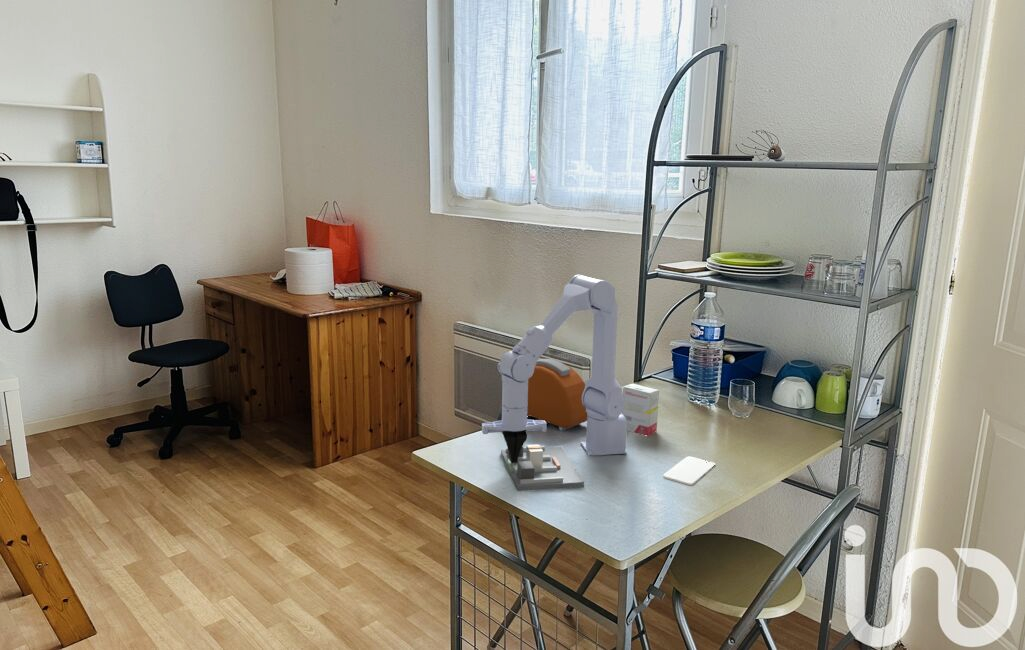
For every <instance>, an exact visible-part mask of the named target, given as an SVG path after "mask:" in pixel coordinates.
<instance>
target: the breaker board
mask: <svg viewBox="0 0 1025 650" xmlns="http://www.w3.org/2000/svg"><path fill="white" fill-rule="evenodd" d="M540 446H541V447H542V450H543V466H542V467H533V465H532V463H531V461H526V447H527V446H524V445H523V446H522V448H521V450H520V453H519V456H518V461H517V463H511V461H510V457H509V451H508V447H505V449H501V450H500V455H501V458H502V460H503V463H504V465H505V468H506V470H507V471H508V474H509V476H510V480H511V481H512V483H513V485H514V488H515V490H516V492H528V491H540V490H556V489H557V490H559V489H572V488H573V489H574V488H584V486H585V481H584V479H583V478H582V476H581V475H580V473H579V471H577V468H576V467H575V466H574V464H573V462H572V461H571V460H570V458H569V456H568V455H567V453H566V452H565V450H564V448H563V447H562V446H554V447H553V446H549V447H545V445H540Z"/></svg>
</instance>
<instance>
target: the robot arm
mask: <svg viewBox="0 0 1025 650" xmlns="http://www.w3.org/2000/svg"><path fill="white" fill-rule="evenodd" d="M615 296H616V287H614V285H612V284H611V283H610V282H609V281H607V280H604V279H597V278H594V277H593V278H592V277H590V276H589V277H588V276H585V275H583V274H576V275H574V276H572V278H570V280H569V281H568V283H567V284H566V285H564V287H563V293H562V295H561V296H560V297H559V299H558V300H557V302H556V304H555V305H554V306H553V308H552V309H551V310H550V311H549V313H548V315H546V317H545V318H544V319H543V321H542V323H541V324H540V325H533V326H531V328H527V330H526V331H525V335H524V336H523V337H522V338H521V340H519V342H518V343H517V344H516V345H514V347H513V348H512V350H510V351H506V352H505V353H504V354H502V355H501V357H500V359H499V363H497V365H496V366H497V370H498V372H499V373H500V375H501V381H502V383H501V385H502V391H501V393H502V394H501V395H502V396H501V398H502V399H501V420H495V421H489V422H482V423H481V432H482V434H483V435H488V434H490V433H491V434H492V433H493V434H494V433H501V434H502V436H503V438H504V442H505V443H506V446H507V447H506V448H508V451H509V457H510V461H511V463H517V461H518V456H519V453H520V450H521V448H522V446H523V447H524V444H525V442H526V441H527V439H528V433H527V432H531V431H532V432H534V431H535V432H536V431H541V432H547V427H548V426H547V424H548V422H546V421H545V420H540V419H528V415H527V405H528V379H529V378H530V377H531V376H532V375H533V373H534V368H535V365H536V364H537V363H536V362H537V360H539V359H541V357H542V355H544V353H545V352H546V350H547V349H548V348H549V347H550V346H552V344H553V335H554V334H555V332H556V331H557V330H559V329H560V327H562V325H564V323H565V322H566V321H567V320H569V318H570V317H571V316H572V315H574V313H575V312H579V311H590V312H591V313H592V314H593V331H592V332H593V333H592V334H593V335H592V336H593V337H592V357H591V358H592V359H591V361H592V362H591V376H590V377H589V378H587V380H585V381H584V383H585V389H584V391H583V394H582V404H583V405H584V406H585V407H586V412H587V421H586V437H585V438H586V439H585V441H584V440H583V441H581V442H580V445H582V447H583V449H584V451H585V452H586V453H587V454H588V455H589V456H607V455H621V454H622V455H625V454H627V450H626V448H627V447H626V446H627V434H628V433H627V432H628V431H627V424H626V419H625V417H624V415H623V414H622V411H623V409H624V399H623V396H622V395H623V387H622V386H621V385H620V383H619V382H618V380H617V379H616V377H615V375H616V355H617V354H616V352H617V330H618V312H619V311H618V302H617V301H616V297H615Z"/></svg>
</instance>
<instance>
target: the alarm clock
mask: <svg viewBox="0 0 1025 650" xmlns="http://www.w3.org/2000/svg"><path fill="white" fill-rule="evenodd" d="M536 363H537V364H536V365H535V368H534V373H533V375H532V376H531V377H530V378H529V379H528V405H527V416H529V417H532V418H535V419H536V420H545V422H546V423H550V424H552V425H554V426H557V427H558V430H559V431H565V430H568V429H570V428H573V427H576V426H579V425H580V424H583V423H587V412H586V407H585V406H584V405H583V404H582V394H583V391H584V389H585V381H584V380H583V378H582V377H581V376H580V375H579V374H578V372H576V370H575V369H573V368H572V367H570V366H569V365H567V364H565V363H563V362H561V361H559V360H556V359H552V358H539V359H538V360H537V362H536Z"/></svg>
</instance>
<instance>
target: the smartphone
mask: <svg viewBox="0 0 1025 650" xmlns="http://www.w3.org/2000/svg"><path fill="white" fill-rule="evenodd" d="M705 460H706V459H703V460H702V458H698V457H695V456H691V455H689V456H688V455H687V456H686V457H685V458H684V457H683V459H682V460H680V461H679V462H678V463H676V464H674V465H673V466H672V467H671V468H670V469H669V470H667V471H666V472H665V473H663V474H662V477H663V478H664V479H666V480H670V481H673V482H676V483H680V484H683V485H687V486H693V485H694V484H695V483H697V482H698V481H700V480H701V479H702V478H703V477H704V476H705V475H706V474H707V473H709V472H710V471H711V470H712V469H713V468H714V467H715V466H716V463H715V462H714V461H710V462H708V461H709V460H706V461H705ZM706 462H707V463H706ZM714 465H715V466H714ZM713 466H714V467H713ZM712 467H713V468H712ZM710 469H711V470H710ZM709 470H710V471H709ZM704 474H705V475H704ZM703 475H704V476H703ZM702 476H703V477H702ZM701 477H702V478H701Z"/></svg>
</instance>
